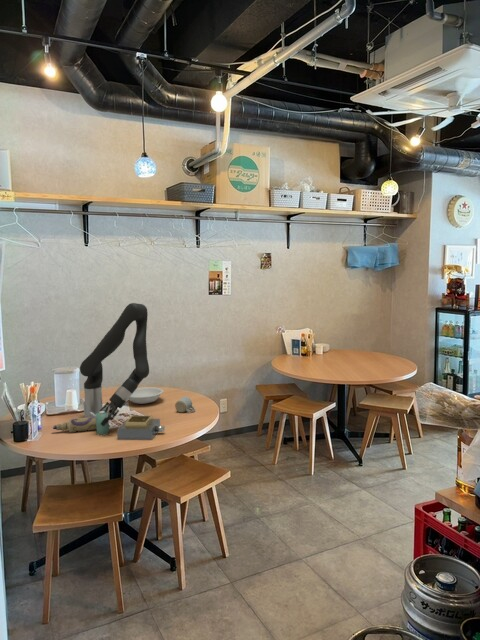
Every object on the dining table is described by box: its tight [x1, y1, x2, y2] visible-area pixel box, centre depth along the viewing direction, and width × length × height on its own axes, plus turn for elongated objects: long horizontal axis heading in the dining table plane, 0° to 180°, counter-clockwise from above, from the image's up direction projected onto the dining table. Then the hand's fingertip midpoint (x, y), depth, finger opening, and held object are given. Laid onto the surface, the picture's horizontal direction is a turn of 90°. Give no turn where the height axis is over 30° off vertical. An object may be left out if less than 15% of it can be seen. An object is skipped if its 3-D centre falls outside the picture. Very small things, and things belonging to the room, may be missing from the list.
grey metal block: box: [116, 415, 166, 440], centre depth 232 cm, size 21×16×8 cm
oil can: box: [90, 411, 110, 436], centre depth 233 cm, size 9×6×12 cm
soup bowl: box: [128, 386, 164, 405], centre depth 288 cm, size 24×24×7 cm
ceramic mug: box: [174, 396, 196, 414], centre depth 268 cm, size 11×8×8 cm
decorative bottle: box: [52, 417, 97, 433], centre depth 239 cm, size 26×8×7 cm, turn 104°
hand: (99, 422), depth 233 cm, fingers open, 8 cm apart
